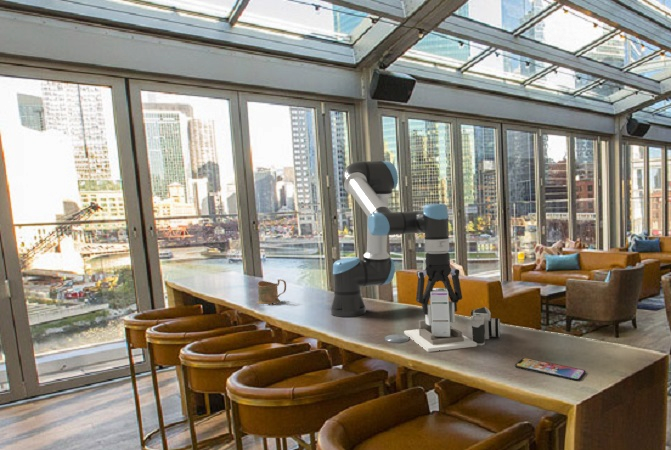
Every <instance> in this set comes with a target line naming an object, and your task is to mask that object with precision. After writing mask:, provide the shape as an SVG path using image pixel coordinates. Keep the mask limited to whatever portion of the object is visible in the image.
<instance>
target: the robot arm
mask: <svg viewBox="0 0 671 450" xmlns="http://www.w3.org/2000/svg"><path fill="white" fill-rule="evenodd" d="M398 182H399V177H398V171H397V169H396V167H395V164H394V163H392V162H390V161H386V160H385V161H384V160H379V161H377V160H376V161H375V160H374V161H373V160H371V161H365V160H364V161H361V160H360V161H359V160H358V161H354V162H352V163H350V164H349V165H347V166H346V167H345V168H344V170H343V172H342V174H341V185H342V187H343V189H344V190H345V191H346V193H348V195H351V196H352V197H353V199H354V200H355V202H356V203H357V204H358V205H359V207H360V208H361V209H362V211H363V212H364V214H365V215H366V217H367V222H366V223H367V224H366V225H367V226H366V227H367V228H366V229H367V230H366V231H367V232H366V251H365V253H364V254H363V255H362V256H363V257H362V259H360V257H357V256H353V257H346V258H340V259H338V260H336V261H334V263H333V264H332V274H333V275H332V276H333V299H332V303H331V306H330V314H331V315H332V316H335V317H341V318H342V317H347V318H348V317H359V316H362V315H365V314H367V307H366V303H365V301H364V299H363V296H362V288H365V287H374V286H375V287H376V286H384V285H388V284H390V283H391V282H392V281H393V279H394V278H395V277H394V276H395V272H396V266H395V262H394V260H393V259H392V258H391V255H390V254H389V253H388V251H387V250H388V245H387V244H388V243H387V242H388V236H393V235H408V234H409V235H410V234H411V235H412V234H424V249H425V250H424V251H425V252H426V253H425V269H424V270H422V271H420V270H419V271H416V276H417V287H416V298H415V301H416V302H417V303H418V304H421V305H422V307H421V310H422V311H421V312H422V314H423V315H424V316H425V318H424V320H425V322H426V324H427V325H429V326H430V325H431V307H430V292H431V291H432V290H433V288H434V286H435V285H436V283H437V282H442V283H443V286H444V288H446V289H447V290H448V296H449V299H450V300H449V315H450V323H452V324H455V323H456V312H458V303H459V301H460V300H462V299H463V294H462V287H461V283H460V277H459V276H460V270H459V269H458V268H451V265H450V263H451V259H450V258H451V257H450V255H451V254H450V253H449V251H450V239H449V238H450V237H449V235H450V233H449V231H450V230H449V214H448V213H449V212H448V210H449V209H448V205H447V204H445V203H436V204H435V203H434V204H425V205H424V206H423V210H421V211H420V210H413V211H397V212H396V211H394V212H393V211H391V209H390V208H389V197H390V196H391V195H393V190H394V189H396V188H397V186H398ZM449 275H451V280H452V281H450V278H449ZM426 276H427V277H428V278H427V281H425V278H426ZM425 282H427V283H426V286H425ZM451 282H452V284H451ZM452 285H453V286H452Z"/></svg>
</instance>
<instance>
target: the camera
mask: <svg viewBox="0 0 671 450" xmlns="http://www.w3.org/2000/svg"><path fill="white" fill-rule="evenodd" d="M491 315H492V314H491V310H489V309H488V308H487V307H486V306H483V307H480V308H479V307H478V308H476V309H471V311H470V319H471V324H472V325H471V329H472V340H473V341H474V342H476V343H477V346H484V345H486V344H485V343H486V340H489V339H490V337H495V338H500V337H501V320H500V318H497V317H496V318H493V317H491Z"/></svg>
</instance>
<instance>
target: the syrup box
mask: <svg viewBox="0 0 671 450" xmlns="http://www.w3.org/2000/svg"><path fill="white" fill-rule="evenodd" d="M449 299H450V298H449V295H448V290H447V289H446V288H445V287H435V288H434V287H433V290H432V291H431V292H430V299H429V305H430V307H431V330H432V334H433V335H434V336H436V337H450V326H451V322H450V315H449V301H450V300H449Z"/></svg>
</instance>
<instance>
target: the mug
mask: <svg viewBox="0 0 671 450" xmlns="http://www.w3.org/2000/svg"><path fill="white" fill-rule="evenodd" d="M280 281H281V282H283V284H284V285H283V286H284V287H283V291H282V292H281V293H279V294H278V291H279V290H278V287H279V286H280ZM257 288H258V289H257V293H258V295H257V296H258V300H257V302H256V304H257V303H258V304H257V305H259V304H271V305H273V304H272V303H276V304H278V303H277V302H279V301H280V302H281V300H280V299H279V297H280V296H281V295H282V294H284V293H286V292H287V291H286V290H287V282H286V281H285V280H284V279H277V283H275V282H270V281H266V280H259V281H258V282H257ZM280 302H279V303H280Z"/></svg>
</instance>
